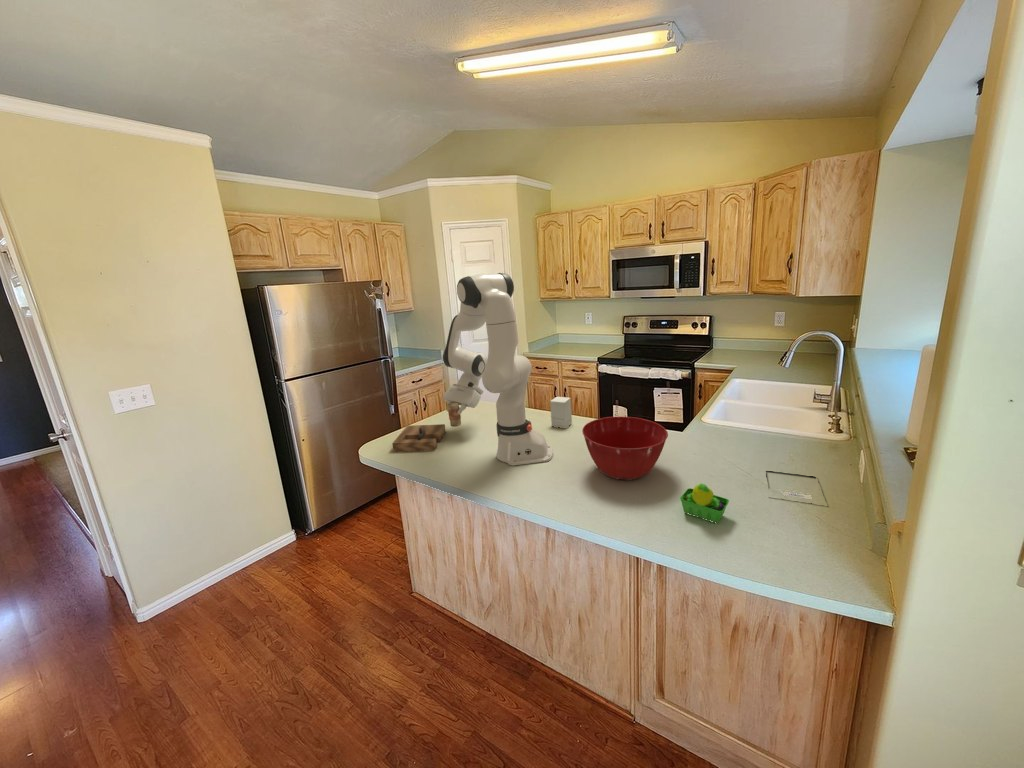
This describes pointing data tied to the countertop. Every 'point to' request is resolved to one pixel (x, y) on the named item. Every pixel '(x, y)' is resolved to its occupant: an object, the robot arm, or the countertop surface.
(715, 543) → the countertop surface
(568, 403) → the supplement box
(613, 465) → the mixing bowl
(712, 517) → the fruit basket
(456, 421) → the cord spool
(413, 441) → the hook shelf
